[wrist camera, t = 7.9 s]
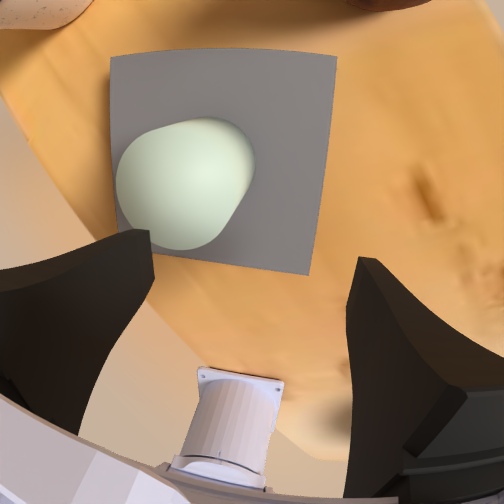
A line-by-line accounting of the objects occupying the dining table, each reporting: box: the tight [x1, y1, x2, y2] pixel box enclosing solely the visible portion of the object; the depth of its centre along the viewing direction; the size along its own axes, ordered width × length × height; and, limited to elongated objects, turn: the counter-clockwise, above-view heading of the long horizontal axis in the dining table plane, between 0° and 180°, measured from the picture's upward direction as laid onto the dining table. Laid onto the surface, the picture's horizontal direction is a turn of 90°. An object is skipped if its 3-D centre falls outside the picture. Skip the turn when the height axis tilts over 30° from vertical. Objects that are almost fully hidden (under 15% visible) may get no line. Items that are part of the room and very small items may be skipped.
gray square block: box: [110, 48, 337, 276], centre depth 18 cm, size 12×12×3 cm
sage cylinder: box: [116, 116, 256, 250], centre depth 14 cm, size 5×5×5 cm
